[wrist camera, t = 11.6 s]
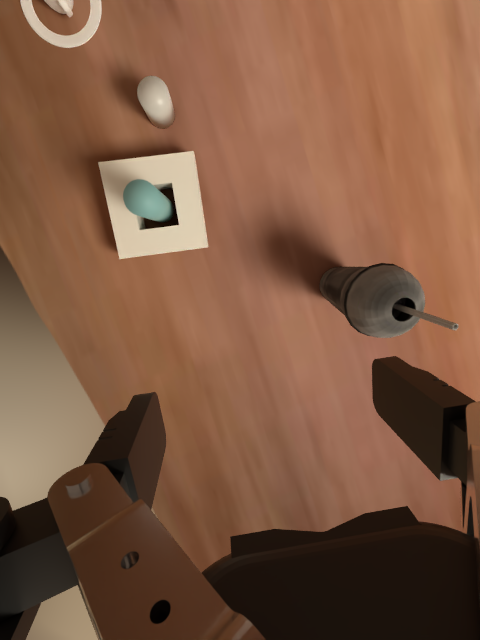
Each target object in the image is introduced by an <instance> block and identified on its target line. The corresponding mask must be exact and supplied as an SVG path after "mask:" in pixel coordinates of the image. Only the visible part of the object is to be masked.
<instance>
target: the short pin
mask: <svg viewBox="0 0 480 640" xmlns="http://www.w3.org/2000/svg"><path fill="white" fill-rule="evenodd" d="M137 95H138V99H139V101H140V103H141V105H142V107H143V109H144V111H145V112H146V114H147V116H148V118H149V120H150V121H151V123H152V124H153V125H154V126H155V127H157V128H160V129H165V128H168V127H170V126H171V125H172V123H173V122H174V119H175V110H174V107H173V104H172V101H171V98H170V94H169V91H168V88H167V86H166V84H165V83H164V82H163V81H162V80H161V79H160V78H158V77H156V76H147V77H145V78H144V79H142V80H141V82H140V83H139V85H138V89H137Z"/></svg>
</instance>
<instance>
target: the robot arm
mask: <svg viewBox="0 0 480 640" xmlns="http://www.w3.org/2000/svg"><path fill="white" fill-rule="evenodd" d="M372 387H373V403H374V406H375V409H376V411H377V413H378V414H379V416H380V417H381V418H382V419H383V420H384V421H385V422H386V423H387V424H388V425H389V426H390V427H391V429H392V430H393V431H394V432H395V433H396V434H397V435H398V436H399V437H400V438H401V439H402V440H403V441H404V443H405V444H406V445H407V446H408V447H409V448H410V449H411V450H412V451H413V452H414V453H415V454H416V455H417V456H418V458H419V459H420V460H421V461H422V462H423V463H424V464H425V465H426V466H427V467H428V468H429V469H430V470H431V472H432V473H433V474H434V475H435V476H436V477H437V478H438V479H439V480H440V481H442V480H448V479H454V478H459V479H460V480H461V488H460V501H461V531H458V530H455V529H452V528H449V527H446V526H442V525H438V524H433V523H427V522H418V520H417V519H416V517H415V516H414V515H413V513H412V512H411V510H410V509H409V508H408V506H405V507H399V508H393V509H388V510H382V511H376V512H370V513H365V514H362V515H360V516H358V517H356V518H354V519H352V520H350V521H347V522H345V523H343V524H341V525H339V526H337V527H335V528H332V529H330V530H328V531H325V532H312V531H296V530H281V529H272V530H266V531H261V532H255V533H249V534H243V535H237V536H232V537H230V538H231V554H229V555H227V556H225V557H223V558H221V559H220V560H218V561H216V562H215V563H213V564H212V565H211V566H209V567H208V568H207V569H205V570H204V571H203V572H202V573H201V572H200V571H199V569H198V568H197V567H196V566H195V564H194V563H193V562H192V561H191V559H190V558H189V557H188V556H187V554H186V553H185V552H184V551H183V549H182V548H181V547H180V546H179V544H178V543H177V542H176V541H175V539H174V538H173V537H172V536H171V534H170V533H169V532H168V531H167V529H166V528H165V527H164V526H163V524H162V523H161V522H160V521H159V519H158V518H157V517H156V516H155V514H154V513H153V512H152V511H151V508H152V504H153V500H154V495H155V491H156V487H157V482H158V478H159V474H160V470H161V465H162V461H163V457H164V453H165V448H166V433H165V428H164V423H163V418H162V414H161V409H160V404H159V400H158V396H157V394H156V393H155V392H153V393H146V394H139V395H134V396H133V398H132V400H131V402H130V403H129V405H128V407H127V409H126V410H125V411H119V412H118V413H117V414H116V415H115V416H114V417H112V418H111V419H110V420H109V421H108V423H107V425H106V426H105V428H104V430H103V432H102V433H101V435H100V437H99V440H98V441H97V442H96V444H95V446H94V447H93V449H92V451H91V452H90V454H89V456H88V457H87V459H86V461H85V463H84V464H83V465H82V466H79V467H77V468H74V469H72V470H71V471H69V472H67V473H66V474H64V475H63V476H61V477H60V478H59V479H58V480H57V481H56V482H55V483H54V484H53V485H52V486H51V488H50V490H49V492H48V497H47V498H45V499H43V500H40V501H38V502H35V503H32V504H30V505H27V506H25V507H22V508H20V509H17V510H14V511H12V508H11V506H10V503H9V501H8V500H7V499H6V498H3V497H0V640H26V637H27V635H28V632H29V630H30V628H31V625H32V623H33V621H34V618H35V616H36V614H37V611H38V609H39V607H40V604H41V602H43V601H45V600H47V599H49V598H51V597H53V596H55V595H57V594H59V593H61V592H64V591H66V590H68V589H70V588H72V587H74V586H76V585H78V587H79V590H80V593H81V595H82V598H83V601H84V603H85V606H86V609H87V611H88V614H89V616H90V619H91V622H92V625H93V627H94V630H95V632H96V635H97V638H98V640H480V401H478V402H476V401H474V400H472V399H471V398H469V397H468V396H466V395H464V394H463V393H461V392H460V391H458V390H456V389H455V388H453V387H452V386H448V384H447V383H445V382H444V381H442V380H439V378H437V377H436V376H434V375H432V374H431V373H429V372H427V371H424V370H421V369H418V368H415V367H412V366H411V365H409V364H407V363H406V362H404V361H403V360H401V359H400V358H398V357H396V356H393V357H386V358H380V359H375V360H374V361H373V363H372Z"/></svg>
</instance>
